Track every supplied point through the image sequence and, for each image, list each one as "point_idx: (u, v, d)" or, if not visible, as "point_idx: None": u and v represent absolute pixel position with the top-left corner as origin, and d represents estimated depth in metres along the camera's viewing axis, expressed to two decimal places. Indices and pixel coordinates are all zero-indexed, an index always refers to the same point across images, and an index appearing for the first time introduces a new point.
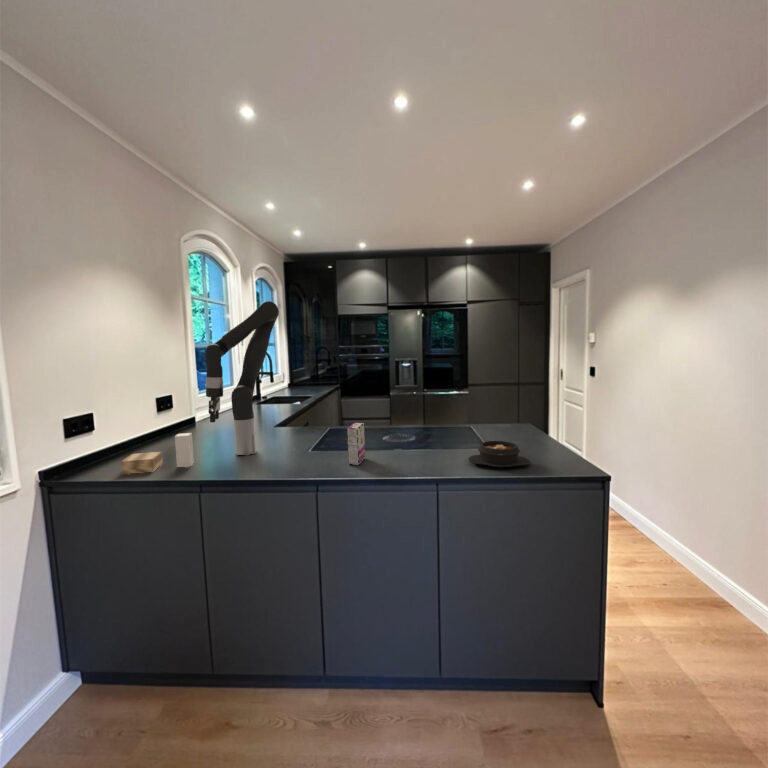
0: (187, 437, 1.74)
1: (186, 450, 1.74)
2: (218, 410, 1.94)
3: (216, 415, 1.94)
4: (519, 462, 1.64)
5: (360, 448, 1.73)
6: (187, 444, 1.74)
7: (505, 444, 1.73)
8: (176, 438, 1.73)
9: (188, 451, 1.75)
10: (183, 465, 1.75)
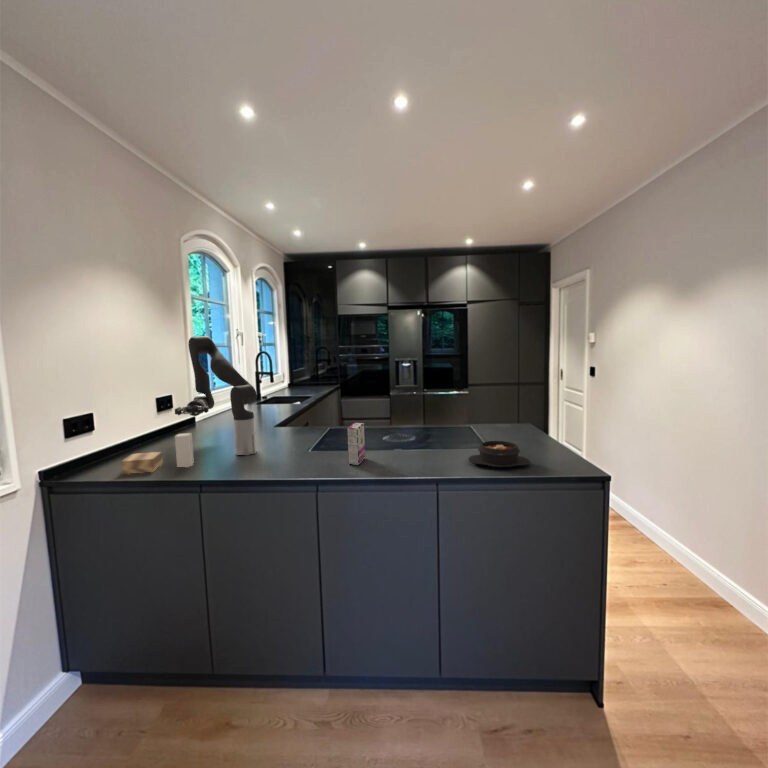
0: (187, 437, 1.74)
1: (186, 450, 1.74)
2: (199, 408, 1.91)
3: None
4: (519, 462, 1.64)
5: (360, 448, 1.73)
6: (187, 444, 1.74)
7: (505, 444, 1.73)
8: (176, 438, 1.73)
9: (188, 451, 1.75)
10: (183, 465, 1.75)
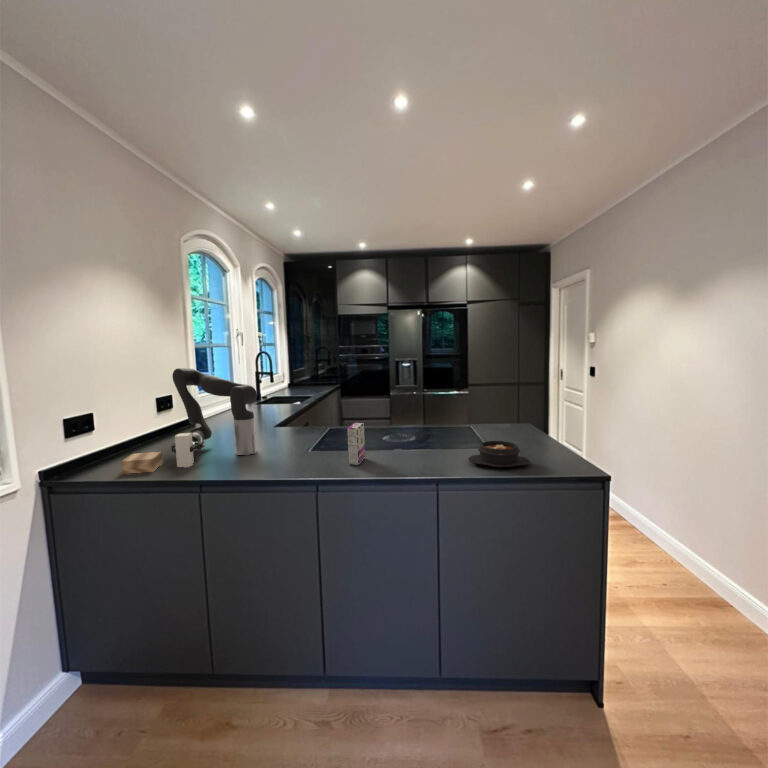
0: (187, 437, 1.74)
1: (186, 450, 1.74)
2: (192, 445, 1.79)
3: None
4: (519, 462, 1.64)
5: (360, 448, 1.73)
6: (187, 444, 1.74)
7: (505, 444, 1.73)
8: (176, 438, 1.73)
9: (188, 451, 1.75)
10: (183, 465, 1.75)
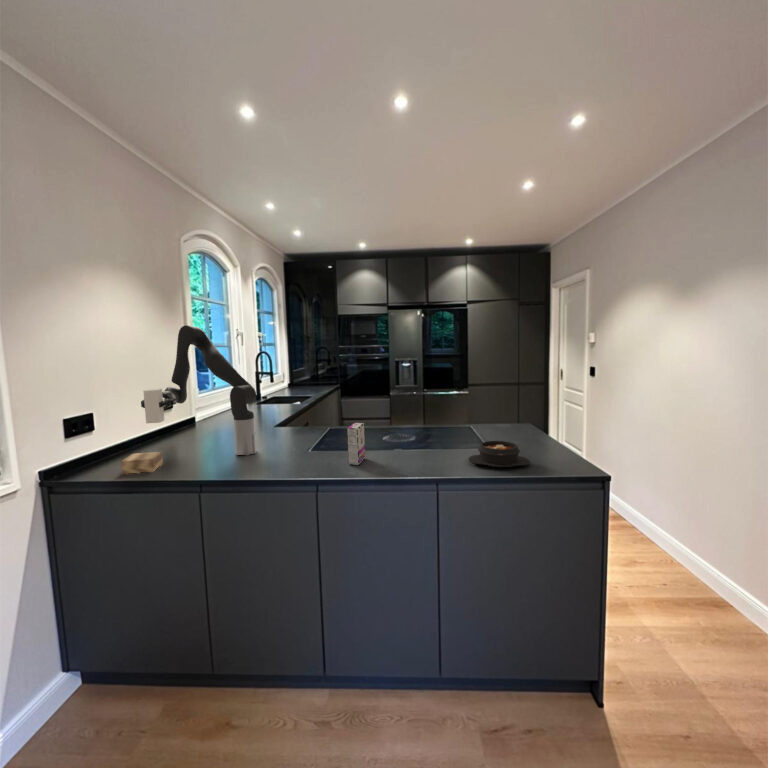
0: (156, 392, 1.70)
1: (155, 405, 1.70)
2: (162, 401, 1.75)
3: None
4: (519, 462, 1.64)
5: (360, 448, 1.73)
6: (156, 399, 1.70)
7: (505, 444, 1.73)
8: (145, 392, 1.69)
9: (157, 406, 1.71)
10: (152, 420, 1.71)
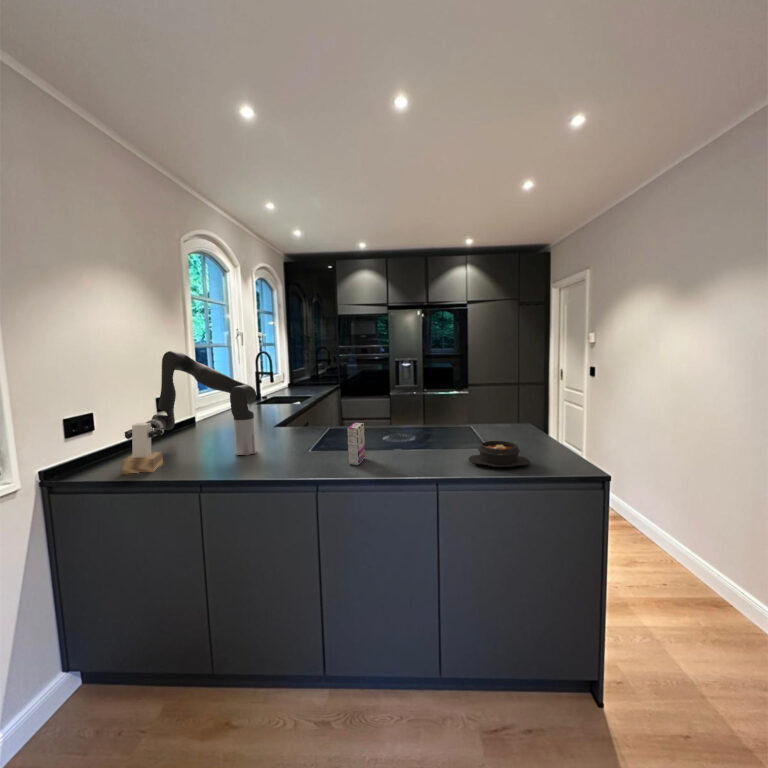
0: (145, 427, 1.70)
1: (143, 440, 1.70)
2: (152, 431, 1.75)
3: None
4: (519, 462, 1.64)
5: (360, 448, 1.73)
6: (144, 434, 1.70)
7: (505, 444, 1.73)
8: (133, 427, 1.69)
9: (145, 441, 1.71)
10: (139, 455, 1.71)
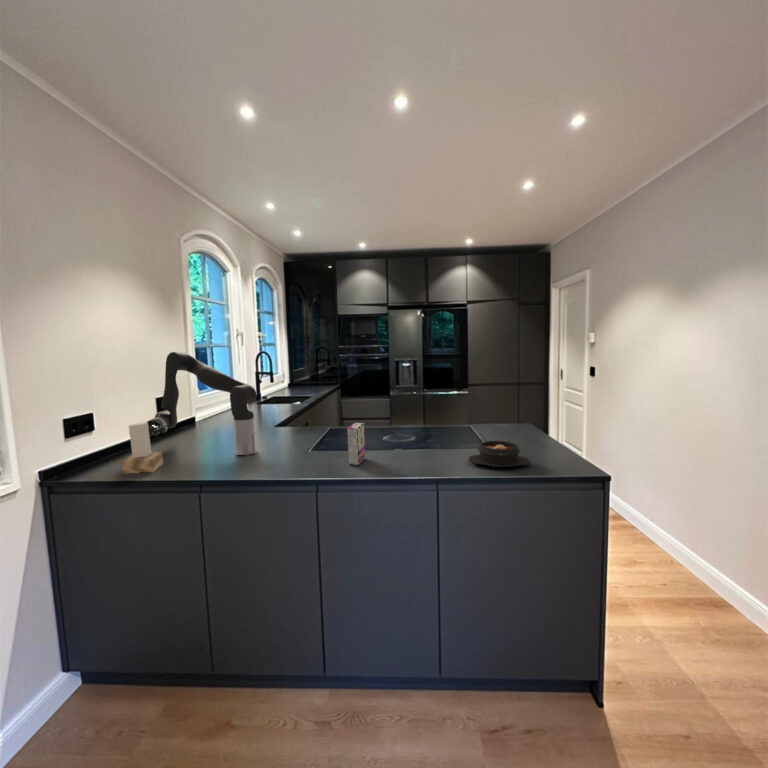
0: (142, 426, 1.70)
1: (141, 439, 1.71)
2: (156, 428, 1.80)
3: None
4: (519, 462, 1.64)
5: (360, 448, 1.73)
6: (142, 433, 1.70)
7: (505, 444, 1.73)
8: (130, 427, 1.69)
9: (143, 440, 1.71)
10: (139, 455, 1.71)
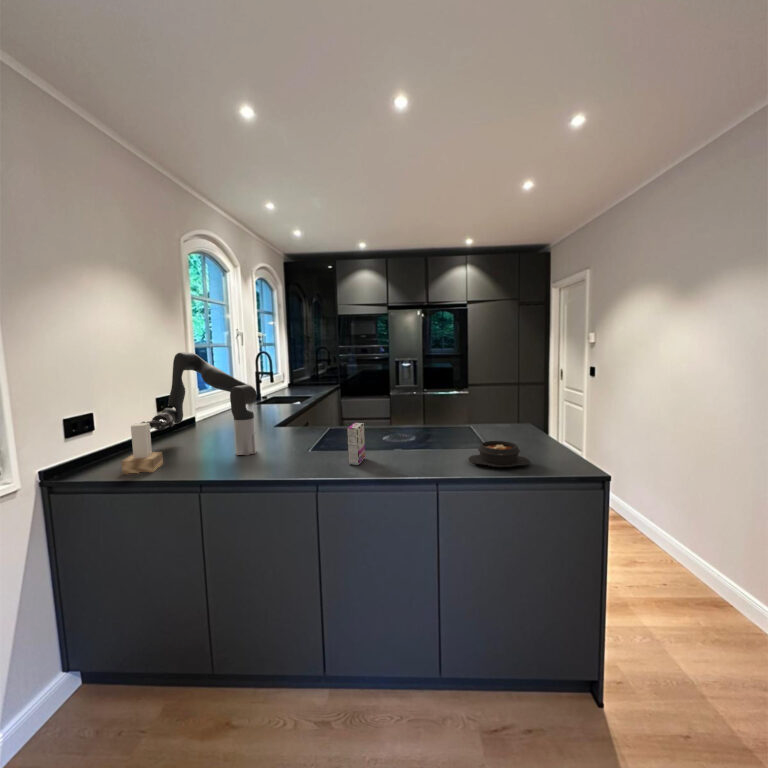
0: (144, 427, 1.70)
1: (143, 440, 1.70)
2: (163, 422, 1.88)
3: None
4: (519, 462, 1.64)
5: (360, 448, 1.73)
6: (144, 434, 1.70)
7: (505, 444, 1.73)
8: (132, 428, 1.69)
9: (145, 441, 1.71)
10: (140, 455, 1.71)
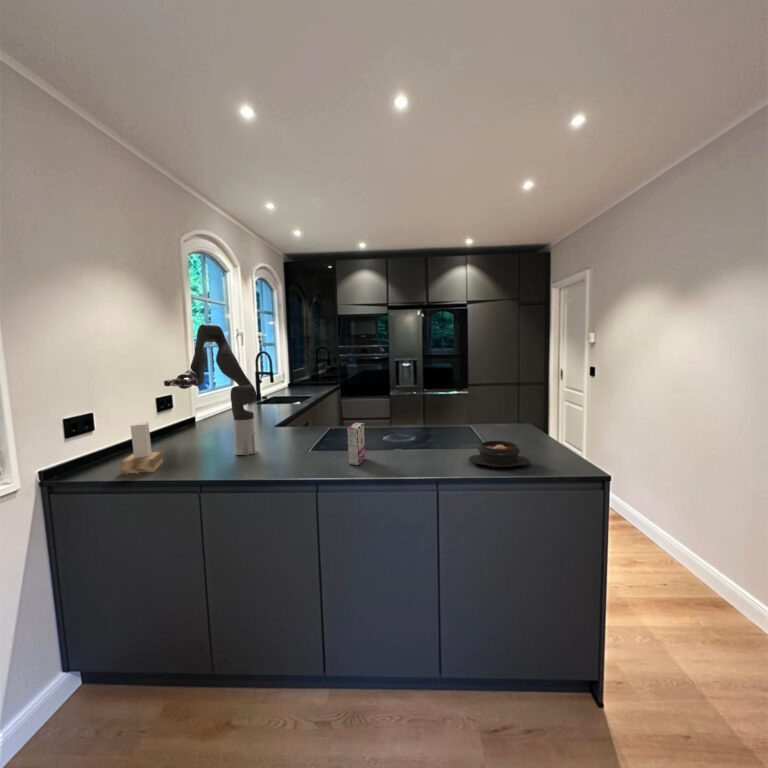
0: (144, 426, 1.70)
1: (143, 439, 1.71)
2: (188, 380, 1.96)
3: None
4: (519, 462, 1.64)
5: (360, 448, 1.73)
6: (144, 433, 1.71)
7: (505, 444, 1.73)
8: (132, 427, 1.69)
9: (145, 440, 1.71)
10: (140, 455, 1.71)
